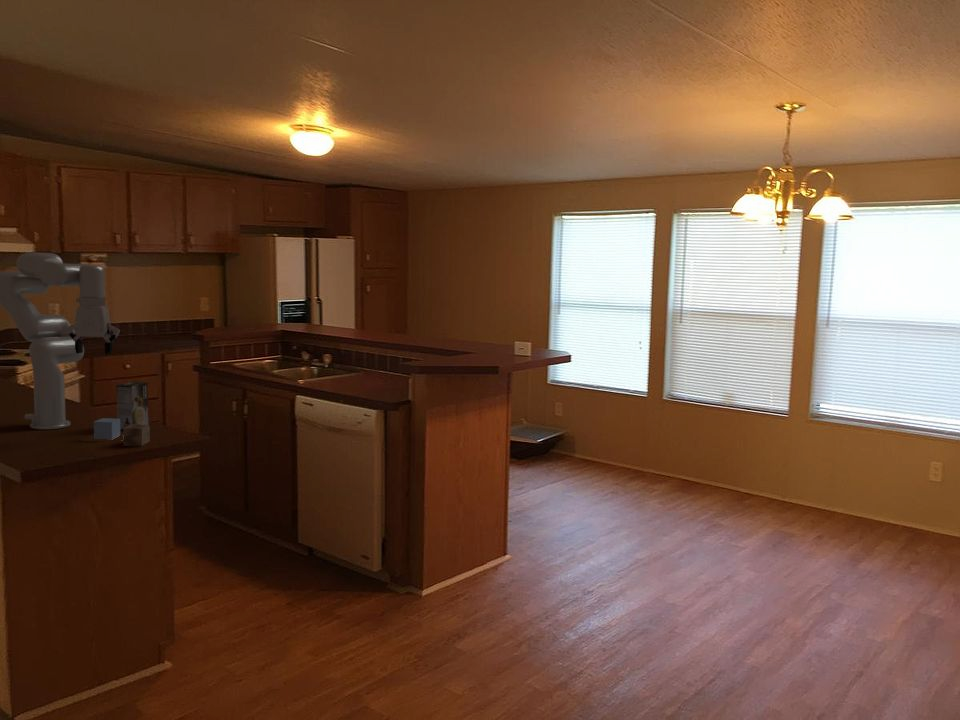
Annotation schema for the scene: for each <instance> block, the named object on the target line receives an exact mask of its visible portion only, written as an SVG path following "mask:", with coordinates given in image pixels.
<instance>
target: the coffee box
mask: <svg viewBox="0 0 960 720" xmlns="http://www.w3.org/2000/svg"><path fill="white" fill-rule="evenodd" d="M148 387H149V386H148V382H142V381H129V382H125V383H121V384H117V385H116V411H117V412H116V414H117V417H116V419H120V430H122V429H123V428H125V427H127V426H129V425H131V424H134V425H150V424H149V393H148Z"/></svg>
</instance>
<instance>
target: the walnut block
mask: <svg viewBox="0 0 960 720" xmlns="http://www.w3.org/2000/svg"><path fill="white" fill-rule="evenodd" d="M150 428H151V427H150V424H149V425H134V424H131V425H129V426H127V427H125V428H123V430H122V433H123V434H122V436H123V440H122V442H123V443H122V444H123V445H124V446H123V445H122V446H123V447H139V446H142V445H144V444H146V443H148V442H151V439H150V438H151V435H150V434H151V432H150V431H151V430H150ZM148 444H149V443H148ZM146 445H147V444H146ZM144 446H145V445H144ZM142 447H143V446H142Z"/></svg>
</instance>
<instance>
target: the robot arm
mask: <svg viewBox="0 0 960 720" xmlns="http://www.w3.org/2000/svg"><path fill="white" fill-rule="evenodd" d="M16 268H17V270H7V271H2V272H0V306H1V308H2V309H4V311H6V313H7V314H8V315H9V317H10V319H12V321H13V323H14V324H15V326H16V328H17V329H18V331H19V333H20V334H21V336H22V337H23V338H24V339H25V340H26V341H28V342H30V345H29V348H28V354H29V359H30V361H31V367H32V377H33V401H34V402H33V406H34V413H25V415H24V420H25V421H31V423H30V424H29V428H31V429H33V430H34V429H35V430H56V429H57V430H58V429H63V428H67V427H70V426H71V421H70V420H68V419H66V392H65V391H66V388H65V387H66V386H65V375H64V373H63V371H62V370H61V369H60V367H59V365H60V364H70V363H76V362H79V361H81V360H82V359H83V357H84V355H85V347H84V344H83V343H84V342H83V340H82V339H83V338H84V337H85V338H86V337H88V338H103V339H104V341H105V342H104V354H105V355H106V356H107V355H111V354H112V352H113V342H114V341H115V340H116V339H118V336H119V334H120V332H121V330H120V328H118V327H115V326H113V325H112V324H111V320H110V318H111V317H110V313H109V309H108V306H106V282H105V281H106V278H105V277H106V274H105V268H104V266H102V265H97V264H96V265H94V264H93V265H91V264H86V263H64V262H63V259H62V258H61V257H60V256H59V255H58V254H57V253H54V252H35V251H33V252H25V253H23V254H21V255H19V256H18V258H17V259H16ZM52 286H55V287H79V298H76V299H75V301H76V303H77V304H78V303H79V305H78V306H77V308H76V312H75V318H74V319H75V320H74V324H71V323H70V322H69V320H68V319H67V318H66V317H64V316H63V315H60V314H42V313H41V312H40V311H39V310H38V309H37V308H36V306H35V304H34V303H32V302H31V301H30V300H29V299H27V298H26V297H24V296H22V295H42V294H45V293H47V292H48V291H49V290H50V288H51V287H52ZM111 331H112V332H113V333H112V335H111Z"/></svg>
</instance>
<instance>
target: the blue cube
mask: <svg viewBox="0 0 960 720" xmlns="http://www.w3.org/2000/svg"><path fill="white" fill-rule="evenodd" d="M93 434H94V439H107V440H113V439H115V438H117V437H119V436H120V435H121V429H120V419H117V418H109V417H108V418H107V417H104V418H99V419H96V420H95V421H93Z"/></svg>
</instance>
